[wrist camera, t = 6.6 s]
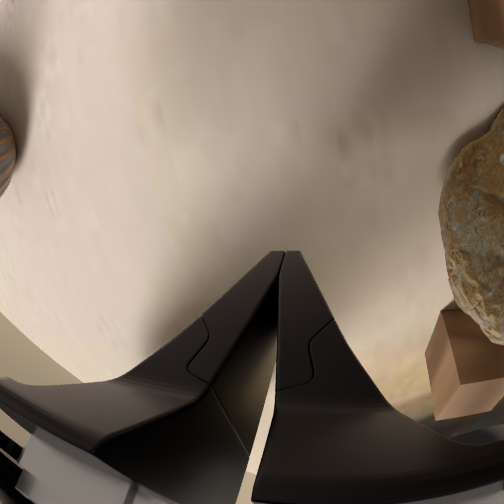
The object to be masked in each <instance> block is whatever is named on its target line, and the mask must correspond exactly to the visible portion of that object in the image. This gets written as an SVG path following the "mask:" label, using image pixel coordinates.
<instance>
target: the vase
mask: <svg viewBox="0 0 504 504" xmlns="http://www.w3.org/2000/svg"><path fill="white" fill-rule="evenodd" d="M15 160H16V147H15V141H14V137H13V134H12V132H11V130H10V128H9V126H8V125H7V123H6V122H5V121H4V120H3V119H2V118H1V117H0V198H1V197H2V195H3V194H4V192H5V191H6V189H7V187H8V185H9V183H10V180H11V178H12V175H13V171H14V166H15Z"/></svg>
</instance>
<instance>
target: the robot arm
mask: <svg viewBox="0 0 504 504" xmlns="http://www.w3.org/2000/svg"><path fill="white" fill-rule="evenodd" d="M201 316H202V317H201ZM201 316H200V317H198V318H197V319H196V320H195V321H194V322H193V323H192V324H191V325H189V326H188V327H187V328H186V329H185V330H184V331H182V332H181V333H180V334H179V335H178V336H176V337H175V338H174V339H173V340H171V341H170V342H169V343H167V344H166V345H165V346H163V347H162V348H161V349H159V350H158V351H157V352H155V353H154V354H152V355H151V356H150V357H148V358H147V359H145V360H144V361H143V362H141V363H140V364H139V365H137V366H136V367H134V368H133V369H132V370H130V371H129V372H127V373H126V374H124V375H122V376H120V377H118V378H115V379H112V380H108V381H103V382H92V383H80V384H66V385H47V386H33V385H26V384H22V383H19V382H17V381H15V380H13V379H11V378H9V377H3V378H0V408H1V409H2V410H3V411H4V412H5V413H6V414H7V415H8V416H10V417H11V418H12V419H13V420H15V421H16V422H17V423H18V424H19V425H20V426H22V427H23V428H24V429H25V430H27V431H28V432H29V433H30V436H29V438H28V440H27V442H26V444H25V446H24V448H23V447H21V446H20V445H18V444H17V443H16V442H14V441H13V440H12V439H10V438H9V437H8V436H7V435H5V434H4V433H3V432H1V431H0V504H235V503H236V500H237V497H238V494H239V490H240V487H241V484H242V481H243V477H244V474H245V471H246V468H247V464H248V461H249V456H250V454H251V450H252V447H253V443H254V440H255V436H256V433H257V429H258V425H259V422H260V418H261V415H262V411H263V407H264V403H265V400H266V396H267V392H268V388H269V384H270V380H271V376H272V373H273V369H274V365H275V361H276V386H275V392H276V393H275V405H274V414H273V418H272V422H271V425H270V429H269V433H268V437H267V440H266V444H265V448H264V451H263V455H262V458H261V462H260V465H259V469H258V472H257V476H256V479H255V482H254V486H253V491H252V497H251V501H252V502H253V503H254V504H504V439H502V440H498V441H495V442H491V443H487V444H481V445H467V444H462V443H458V442H455V441H453V440H450V439H448V438H447V437H445V436H443V435H441V434H439V433H437V432H435V431H433V430H431V429H429V428H428V427H426V426H424V425H422V424H420V423H418V422H417V421H415V420H413V419H411V418H409V417H408V416H406V415H404V414H402V413H400V412H399V411H397V410H396V409H395V408H394V407H393V406H392V405H391V404H389V402H388V401H387V400H386V399H385V398H384V396H383V395H382V394H381V392H380V391H379V389H378V388H377V386H376V385H375V383H374V382H373V381H372V379H371V378H370V376H369V375H368V373H367V372H366V371H365V369H364V368H363V366H362V365H361V363H360V362H359V360H358V359H357V358H356V356H355V354H354V353H353V351H352V350H351V348H350V347H349V345H348V344H347V342H346V340H345V338H344V336H343V334H342V333H341V331H340V329H339V327H338V325H337V323H336V321H335V319H334V317H333V315H332V313H331V311H330V309H329V307H328V305H327V303H326V301H325V299H324V297H323V295H322V293H321V291H320V289H319V287H318V285H317V283H316V281H315V279H314V277H313V275H312V273H311V271H310V269H309V267H308V266H307V264H306V262H305V260H304V258H303V256H302V254H301V252H300V251H286V252H284V251H271V252H269V253H268V254H267V255H266V256H265V257H264V258H263V259H262V260H261V261H260V262H259V263H258V264H256V265H255V266H254V267H253V268H252V269H251V270H250V271H249V272H248V273H247V274H246V275H245V276H243V277H242V278H241V279H240V280H239V281H238V282H237V283H236V284H235V285H234V286H233V287H231V288H230V289H229V290H228V291H227V292H226V293H225V294H224V295H223V296H222V297H220V298H219V299H218V300H217V301H216V302H215V303H214V304H213V305H212V306H211V307H210V308H208V309H207V310H206V311H205V312H204V313H203V314H202V315H201ZM276 356H277V360H276Z"/></svg>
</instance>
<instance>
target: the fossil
mask: <svg viewBox="0 0 504 504" xmlns="http://www.w3.org/2000/svg"><path fill="white" fill-rule="evenodd" d="M438 214H439V220H440V226H441V234H442V240H443V245H444V249H445V258H446V266H447V271H448V276H449V283H450V286H451V289H452V292H453V295H454V298H455V302H456V303H457V304H458V306H459V307H460V308H461V309H462V310H463V311H464V312H465V313H466V314H468V315H470V316H471V317H472V318H473V320H474V321H475V322H477V323H478V324H479V325H480V328H481V330H482V331H483V332H484V333H485V335H486V336H487V337H488V338H489V339H490V341H491V342H493V343H496V344H500V345H504V108H502V109H501V111H500V113H499V114H498V116H497V118H496V119H495V120H494V121H493V122H492V125H491V130H490V131H489V132H488V133H486V134H485V135H483V136H482V137H480V138H479V139H476V140H473V141H471V142H470V143H469V144H468V145H466V146H465V147H463V148H462V150H461V151H460V154H459V155H458V156H457V157H456V159H455V160H454V161H453V162H452V163H451V165H450V166H449V168H448V173H447V176H446V178H445V180H444V186H443V189H442V193H441V198H440V205H439V212H438Z"/></svg>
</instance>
